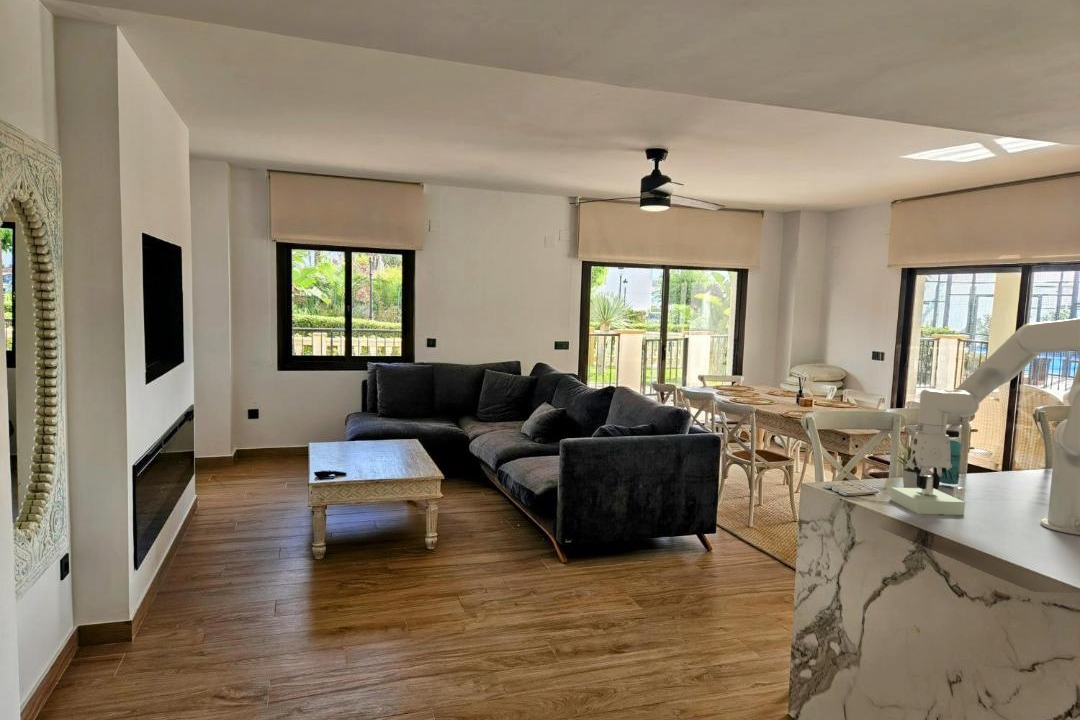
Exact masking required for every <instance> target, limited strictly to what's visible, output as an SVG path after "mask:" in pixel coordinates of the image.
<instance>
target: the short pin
mask: <svg viewBox="0 0 1080 720" xmlns="http://www.w3.org/2000/svg"><path fill="white" fill-rule="evenodd" d="M965 490H966V487H964V486H963V487H962V486H955V485H954V486H953V491H952V497H954V498H957V499H959V500H961V501H964V502H965V492H966V491H965Z"/></svg>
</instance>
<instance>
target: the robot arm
mask: <svg viewBox="0 0 1080 720" xmlns="http://www.w3.org/2000/svg"><path fill="white" fill-rule="evenodd" d="M1076 350H1077V351H1078V355H1079V356H1078V365H1077V368H1076V372H1075V375H1074V378H1073V381H1072V384H1071V387H1070V389H1069V392H1068V396H1067V402H1068V404H1069V406H1070V409H1069V413H1068V416H1067V418H1065V419H1063V420H1062V421H1060V422H1059V423H1058V424H1057V425H1056V427H1055V429H1054V432H1053V437H1052V439H1053V440H1052V441H1053V451H1052V452H1053V453H1052V466H1051V467H1052V468H1051V469H1052V470H1051V477H1050V479H1051V480H1050V488H1049V498H1048V499H1049V501H1048V512H1047V514H1048V515H1047V517H1045V518H1042V519H1040V525H1041V526H1043V527H1044V528H1046V529H1050V530H1053V531H1056V532H1061V533H1065V534H1068V535H1069V534H1070V535H1076V536H1080V317H1077V318H1071V319H1062V320H1054V321H1053V320H1052V321H1041V322H1028V323H1025V324H1024V325H1021V327H1019V328H1017V330H1015V332H1014V333H1013V334H1012V335H1011V336H1010V337H1009V338H1007V339H1006V340H1005V342H1003V343H1002V345H1000V346H999V347H998V348H997V349H996V350H995V351H994V352H993V353H991V355H989V357H988V358H986V359H985V360H984V361H983V363H981V365H980V366H979V367H978V368H977V369H976V370H975V371H973V372H972V373H971V374H970V375H969V376H968V377H967V378H966V379H965V380H964V381H963V382H962V383H961V384H960V385H958V386H957V388H955V389H954V390H953V391H952V392H948V391H946V390H943V389H933V388H932V389H931V388H927V389H923V390H921V392H920V395H919V409H918V410H919V411H918V421H917V424H916V425H914V426H913V429H914V431H916V430H917V432H915V434H914V436H913V439H912V442H913V443H912V445H911V449H912V450H911V458H910V460H909V461H908V460H907V461H908V463H907V465H906V467H907V468H908V467H910V468H911V469H913V471H914V472H915V473H916V474H917V482H916V484H917V487H919V488H921V489H925V481H926V477H925V476H924V473H925V474H926V469H927V468H932V474H931V476H934V486H933V489H936V490H939V486H940V483H941V482H940V477H941V476H942V474H943V473H944V472H945V471H946V470H948V469H950V468H952V465H951V463H950V441H949V439H950V437H949V436H948V435H946V430H947V426H948V425H947V423H948V415H950V416H956V417H960V418H961V417H962V418H969V417H972V416H973V415H975V414H976V413H977V412H978V410H979V407H980V404H981V402H982V401H984V400H985V399H986V398H987V397H988V396H989V395H990V394H992V393H993V392H994V391H995V390H996V389H997V388H999V387H1000V386H1003V385H1005V384H1006V383H1008V382H1010V381H1012V380H1013V379H1015V378H1016V377H1017V376H1018V375H1019V374H1020V373H1021V372H1022V371H1023V370H1024V369H1025V368H1026V367H1027V366H1029V365H1030V364H1031V363H1032V362H1033V361H1034V360H1035V359H1036V358H1037V357H1038V356H1039V355H1041V354H1042V353H1043V354H1044V353H1059V352H1067V351H1068V352H1069V351H1076ZM914 464H917V466H915V465H914Z"/></svg>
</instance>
